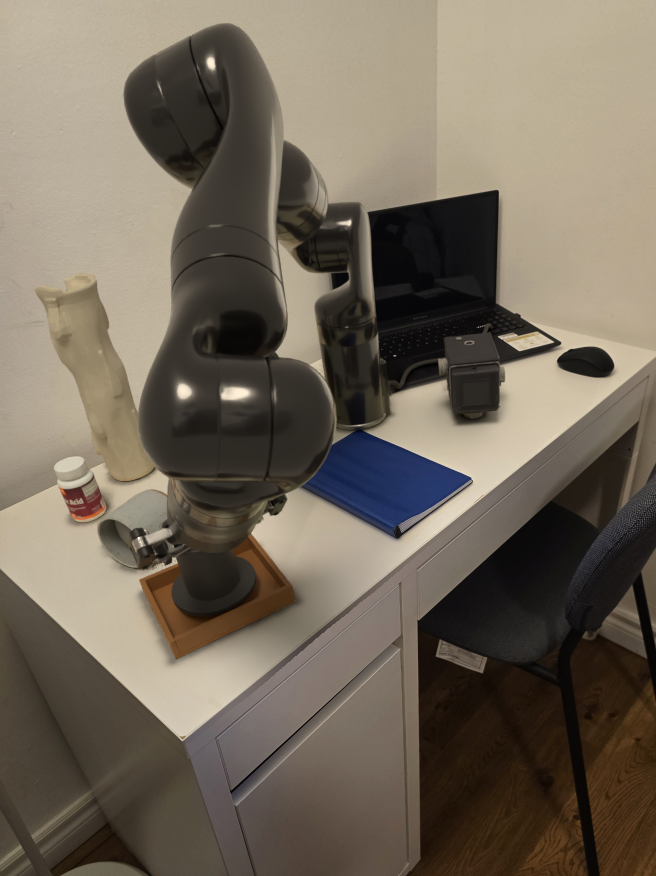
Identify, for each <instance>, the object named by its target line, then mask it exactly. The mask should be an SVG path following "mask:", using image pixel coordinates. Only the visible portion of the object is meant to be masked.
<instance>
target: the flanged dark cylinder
mask: <svg viewBox="0 0 656 876" xmlns="http://www.w3.org/2000/svg"><path fill="white" fill-rule="evenodd" d="M184 545H185V544H184ZM175 559H176V564H177V563H178V565H179V568H180V571H181V574H180V575H179V576H178V577H177V578H176V580H175V582H174V584H173V586H172V590H171V595H172V599H173V602H174V604H175V605H176V607H177V608H178V609H179V610H181V611H182V612H184V613H186V614H189V615H194V616H211V615H216V614H220V613H223V612H226V611H229V610H231V609H233V608H235V607H236V606H238V605H239V604H241V603H242V602H243V601H245V600H246V599H247V598H248V597H249V595H250V594H251V593H252V591H253V590H254V587H255V585H256V579H257V578H256V572H255V569H254V567H253V566H252V564H251V563H250V562H248V561H247V560H245V559H243V558H241V557H237V556H234V554H233V550H232V549H231V550H229V551H225V552H221V553H205V552H200V551H197V550H195V549H194V550H192V551H191V552H189V553H188V554H186V555H183V556H179V557H176V558H175Z"/></svg>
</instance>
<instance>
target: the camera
mask: <svg viewBox="0 0 656 876" xmlns="http://www.w3.org/2000/svg"><path fill="white" fill-rule="evenodd" d="M443 342H444V343H443V344H444V357H445V358H443V357H442V358H443V359H438V363H437V365H438V366H437V367H438V375H439V376H445V380H446V386H447V387H446V388H447V391H448V398H449V403H450V409H452V412H453V414H455V415H456V414H457V415H462V414H463V416H464V417H465V418H468V419H478V418H480V417H482V416H483V415H484V413H487V412H495V411H498V410H499V408H501V406H500V401H501V396H500V395H501V387H502V383H505V382H506V369H505V366H501V364H500V356H501V355H500V354H499V351H498V349H497V346H496V343H495V342H494V339H493V335H492V333H491V332H488V331H487V333H483V332H482V333H473V334H464V335H455V336H454V335H453V336H445V337H443Z"/></svg>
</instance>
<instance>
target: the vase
mask: <svg viewBox="0 0 656 876" xmlns="http://www.w3.org/2000/svg"><path fill="white" fill-rule="evenodd" d="M63 282H64V285H65V289H66V290H63V289H61V288H60V287H53V286H49V285H44V284H40V285H37V286H36V287H35V288H34V292H35V294H36V297H37V298H38V299H39V301H40V302H41V303H42V305H43V308H44V310H45V313H46V318H47V322H48V323H47V324H48V331H49V337H50V341H51V344H52V346H53V348H54V350H55V353H56V354H57V356H58V358H59V360H60V362H61V363H62V364H63V365H64V366H65V367H66V369H68V371H69V372H70V373H71V374H72V376H73V378H74V381H75V384H76V387H77V390H78V393H79V397H80V399H81V402H82V405H83V408H84V412H85V415H86V419H87V421H88V424H89V427H90V430H91V431H90V434H91V441H92V445H93V449H94V452H95V454H96V455H98V456H101V457H102V458H103V460H104V463H105V465H106V468H107V470H108V473H109V475H111V477H112V478H113V479H115V480H116V481H119V482H129V481H134V480H137V479H141V478H143V477H145V476H147V475H148V474H150V473H151V472H152V471H153V470H154V468H155V467H154V466H153V465H152V463H151V462H150V460H149V459H148V457H147V456H146V454H145V452H144V450H143V448H142V445H141V442H140V438H139V433H138V409H137V408H136V404H135V401H134V396H133V393H132V389H131V385H130V382H129V378H128V373H127V370H126V368H125V365H124V363H123V361H122V359H121V357H120V356H119V354H118V352H117V351H116V349H115V347H114V345H113V343H112V340H111V337H110V334H109V331H108V330H109V329H110V321H109V316H108V313H107V311H106V308H105V306H104V304H103V302H102V300H101V298H100V295H99V290H98V289H99V288H98V280H97V279H96V275H95V274H91V273H87V272H79V273H75V275H74V276H71V277H67V278H64V279H63Z"/></svg>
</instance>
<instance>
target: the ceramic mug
mask: <svg viewBox="0 0 656 876" xmlns="http://www.w3.org/2000/svg"><path fill="white" fill-rule="evenodd" d="M165 520H167V494H166V493H165V492H164V491H161V490H158V489H153V488H151V489H150V488H149V489H145V490H143V491H140V492H138V493H137V494H135V495H133V496H132V497H131V498H129V499H128V500H127V501H125V502H124V503H122V504H121V505H119V506H117V507H116V508H115V509H113V510H112V511H110V512H109V513H107V514H105V516H103V517H102V518H100V520H99V521H98V523H97V527H96V529H97V531H96V533H97V536H98V539H99V541H100V543H101V545H102V546H103V547H104V549H105V551H106V552H107V553H108V554H109V555H110V556H111V557H112V558H113V559H114V560H115V561H116V562H118V563H119V564H122V565H124V566H125V567H129V568H132V569H138V567H137V564H136V561H135V559H134V557H133V554H132V552H131V550H130V549H129V547H128V539H129V532H131V531H132V530H133V529H135V528H143V529H148V531H149V533H152V532H155V531H158V530H159V526H160V524H161V523H162V522H164V521H165Z"/></svg>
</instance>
